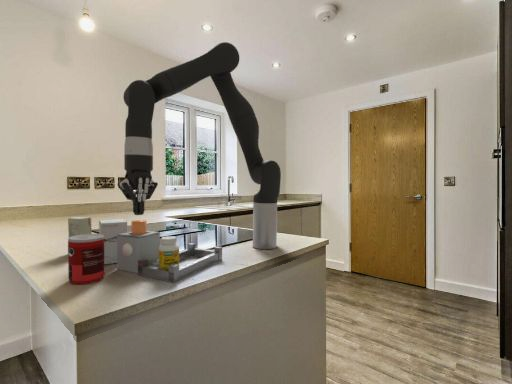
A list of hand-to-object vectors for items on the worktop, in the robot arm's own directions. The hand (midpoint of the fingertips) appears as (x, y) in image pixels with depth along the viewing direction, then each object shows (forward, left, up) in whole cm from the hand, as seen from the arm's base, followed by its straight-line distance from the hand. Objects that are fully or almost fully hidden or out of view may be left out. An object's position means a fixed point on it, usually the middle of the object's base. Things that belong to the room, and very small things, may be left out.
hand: (138, 214), depth 81 cm
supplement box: (-1, -12, -16) cm, 20 cm away
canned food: (+13, -4, -16) cm, 21 cm away
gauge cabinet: (0, 0, -15) cm, 15 cm away
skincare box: (-2, -29, -16) cm, 33 cm away
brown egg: (0, 0, -8) cm, 8 cm away
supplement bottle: (0, +11, -15) cm, 19 cm away
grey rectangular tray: (-7, +11, -15) cm, 20 cm away
